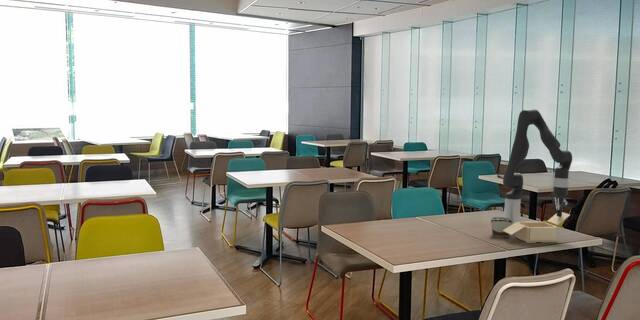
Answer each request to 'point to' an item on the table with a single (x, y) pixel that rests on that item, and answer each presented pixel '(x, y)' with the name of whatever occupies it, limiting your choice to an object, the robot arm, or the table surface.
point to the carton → (537, 232)
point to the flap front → (513, 228)
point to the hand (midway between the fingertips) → (559, 216)
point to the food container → (500, 226)
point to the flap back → (558, 218)
